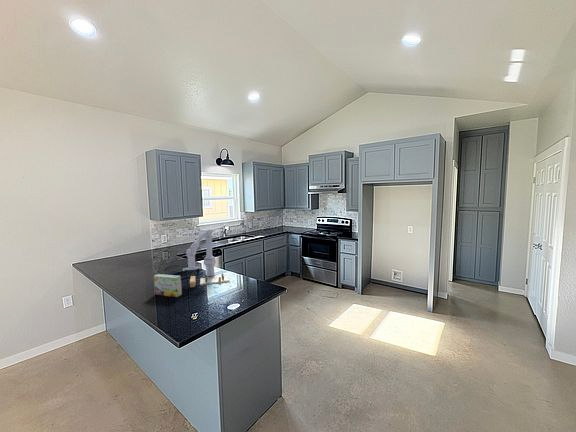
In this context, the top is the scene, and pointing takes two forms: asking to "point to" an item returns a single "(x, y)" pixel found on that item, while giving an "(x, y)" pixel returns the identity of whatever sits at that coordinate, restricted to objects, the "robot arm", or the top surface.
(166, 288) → the snack box
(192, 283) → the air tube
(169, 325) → the top surface
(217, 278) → the firebox plate
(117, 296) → the top surface
